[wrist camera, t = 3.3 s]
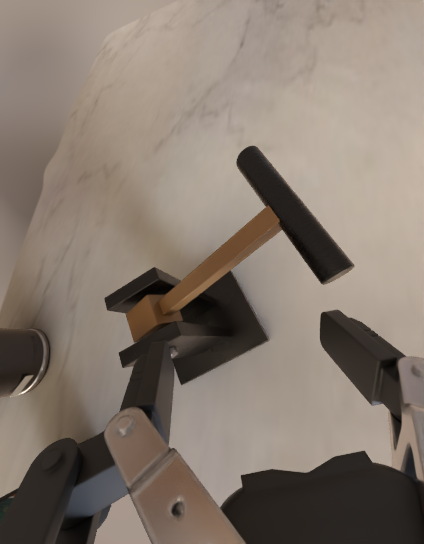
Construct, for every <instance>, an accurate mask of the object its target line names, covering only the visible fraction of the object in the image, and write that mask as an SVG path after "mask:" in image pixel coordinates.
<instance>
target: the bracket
mask: <svg viewBox="0 0 424 544" xmlns="http://www.w3.org/2000/svg"><path fill="white" fill-rule="evenodd" d="M180 282H181V281H180V280H178V279H176V278H175V277H173V276H171V275H169V274H167V273H165V272H163V271H161V270H159V269H157V268H155V267H154V268H152V269H150V270H149V271H147V272H146V273H144V274H142V275H141V276H139V277H138V278H136V279H134V280H133V281H131V282H130V283H128V284H126V285H125V286H123V287H122V288H120V289H118V290H117V291H115V292H114V293H112V294H110V295H109V296H107V297H106V298H105V303H106V307H107V310H108V311H115V312H121V313H128V312H129V311H130V310H131V309H132V308H133V307H134V306H135V305H137V304H138V303H139V302H140V301H141V300H142V299H143V298H144V297H145V296H146V295H166V294H167V293H168V292H169V291H171V290H172V289H173V288H174V287H175V286H176V285H177V284H179V283H180ZM179 311H180V313H181V316H182V318H183V321H182V322H181V321H174V322H172V323H170V324H168V325H167V326H165V327H163V328H161V329H160V330H158V331H156V332H154V333H153V334H151V335H149V336H147V337H146V338H144V339H142V340H140V341H139V342H137V343H135V344H133V345H132V346H130V347H128V348H126V349H125V350H123V351H121V352H119V356H120V360H121V364H122V367H123V368H125V367H131V366H134V364H135V362H136V361H137V360H138V359H139V357H140V356H141V355H144V354H148V353H149V349H150V345H151V343H152V342H157V341H163V340H167V342H168V345H169V349H170V353H171V357H172V361H173V364H174V367H175V369H176V372H177V375H178V378H179V381H180V383H181V385H183V384H185V383H187V382H189V381H191V380H193V379H195V378H197V377H199V376H201V375H203V374H205V373H207V372H209V371H211V370H213V369H215V368H217V367H219V366H221V365H223V364H224V363H226V362H228V361H230V360H232V359H234V358H236V357H238V356H240V355H242V354H244V353H246V352H248V351H250V350H252V349H254V348H256V347H258V346H259V345H261V344H263V343H265V342H267V341H269V338H268V336H267V335H266V333H265V331H264V329H263V327H262V325H261V324H260V322H259V320H258V318H257V316H256V314H255V313H254V311H253V309H252V307H251V305H250V304H249V302H248V300H247V298H246V296H245V294H244V293H243V291H242V289H241V287H240V285H239V284H238V282H237V280H236V278H235V276H234V274H233V273H232V272H231V270H230V271H229V272H227V273H226V274H225V275H223V276H222V277H221V278H220V279H218V280H217V281H216V282H215V283H213V284H212V285H211V286H209V287H208V288H207V289H206V290H204V291H203V292H202V293H200V294H199V295H198V296H197V297H195V298H194V299H193V300H192V301H190V302H189V303H188V304H186V305H185V306H184V307H183V308H181V309H180V310H179Z"/></svg>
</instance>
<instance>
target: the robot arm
mask: <svg viewBox="0 0 424 544" xmlns="http://www.w3.org/2000/svg"><path fill="white" fill-rule="evenodd" d="M320 341H321V344H322V347H323V348H324V350H325V351H326V352H327V353H328V354H329V356H330V357H331V358H332V359H333V360H334V362H335V363H336V364H337V365H338V366H339V368H340V369H341V370H342V371H343V372H344V373H345V375H346V376H347V377H348V378H349V379H350V381H351V382H352V383H353V384H354V385H355V386H356V388H357V389H358V390H359V391H360V392H361V394H362V395H363V396H364V397H365V398H366V399H367V401H368V402H369V403H370V404H371V405H372V406H373V405H378V404H384V405H385V406H386V407H387V408H388V409H389V411H388V419H389V430H390V440H391V451H392V467H389V466H386V465H382V464H378V463H372V461H371V460H370V458H369V457H368V455H367V454H366V452H365V451H361V452H356V453H351V454H346V455H341V456H336V457H333V458H332V459H330V460H328V461H327V462H325V463H323V464H322V465H320V466H319V467H317V468H315V469H314V470H312V471H310V472H308V473H301V472H292V471H283V470H274V469H270V470H265V471H260V472H255V473H250V474H245V475H241V480H242V488H240V489H238V490H237V491H235V492H234V493H233V494H232V495H230V496H229V497H228V498H227V500H226V501H225V502H224V503H223V504H222V506H221V507H220V508H219V506H218V505H217V504H216V502H215V501H214V500H213V498H212V497H211V496H210V494H209V493H208V492H207V490H206V489H205V488H204V486H203V485H202V483H201V482H200V481H199V479H198V478H197V477H196V475H195V474H194V473H193V471H192V470H191V469H190V467H189V466H188V465H187V463H186V462H185V461H184V459H183V458H182V457H181V455H180V454H179V453H178V452H177V450H176V449H174V448H172V449H170V448H169V435H170V423H171V411H172V399H173V387H174V365H173V361H172V357H171V353H170V349H169V345H168V342H167V340H163V341H157V342H152V343H151V345H150V349H149V353H148V354H144V355H141V356H140V357H139V359H138V360H137V361H136V362H135V364H134V367H133V371H132V374H131V377H130V382H129V383H128V386H127V389H126V393H125V396H124V399H123V402H122V405H121V408H120V411H119V413H117V414H116V415H115V416H114V417H113V418H112V419H111V420H110V422H109V423H108V425H107V427H106V429H105V431H103V432H102V433H100V434H99V435H97V436H95V437H93V438H91V439H89V440H87V441H85V442H83V443H81V444H77V443H76V441H75V440H73V439H71V438H65V439H61V440H58V441H56V442H54V443H52V444H51V445H49V446H48V447H47V448H45V449H44V450H43V451H42V452H41V453H40V454H39V455H38V456H37V457H36V459H35V460H34V461H33V463H32V464H31V466H30V468H29V470H28V471H27V473H26V475H25V477H24V479H23V481H22V483H21V485H20V487H19V488H18V490H17V492H16V494H15V496H14V498H13V500H12V502H11V503H10V505H9V507H8V509H7V511H6V513H5V515H4V517H3V519H2V520H1V522H0V544H94V540H95V536H96V532H97V528H98V523H99V519H100V515H101V510H102V509H104V508H105V507H107V506H109V505H110V504H112V503H114V502H115V501H117V500H119V499H120V498H122V497H124V496H125V495H127V494H130V497H131V499H132V501H133V503H134V506H135V508H136V510H137V512H138V515H139V517H140V519H141V521H142V523H143V526H144V528H145V530H146V532H147V534H148V537H149V539H150V541H151V543H152V544H424V359H423V358H419V357H412V356H409V357H406V356H405V355H404V354H402V353H401V352H400V351H399V350H397V349H396V348H395V347H393V346H392V345H391V344H389V343H388V342H387V341H386V340H384V339H383V338H382V337H380V336H378V334H376V333H375V332H374V331H373V330H372V331H371V329H370V328H369V327H367V326H366V325H365V324H363V323H362V322H360V321H357V320H355V319H353V318H348V317H347V316H346V315H344V314H343V313H342V312H341V311H339V310H333V311H327V312H322V313H321V320H320ZM48 360H49V344H48V341H47V338H46V336H45V335H44V334H43V332H41V331H40V330H38V329H7V328H0V398H1V397H6V396H10V397H14V396H18V395H19V394H24V393H27V392H29V391H31V390H32V389H33V388H34V387H35V386H36V385H37V384H38V383H39V382H40V380H41V379H42V377H43V375H44V373H45V371H46V368H47V364H48Z"/></svg>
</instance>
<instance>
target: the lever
mask: <svg viewBox="0 0 424 544" xmlns="http://www.w3.org/2000/svg"><path fill="white" fill-rule="evenodd" d="M236 163H237V167H238V169H239V170H240V172H241V173H242V174H243V176H244V177H245V179H246V180H247V181H248V183H249V184H250V185H251V187H252V188H253V190H254V191H255V192H256V194H257V195H258V197H259V198H260V199H261V201H262V202H263V203H264V205H265V206H266V208H265V209H263V210H262V211H261V212H260V213H259V214H258V215H257V216H255V217H254V218H253V219H252V220H251V221H250V222H249V223H247V224H246V225H245V226H244V227H243V228H242V229H241V230H239V231H238V232H237V233H236V234H235V235H234V236H232V237H231V238H230V239H229V240H228V241H227V242H226V243H224V244H223V245H222V246H221V247H220V248H219V249H218V250H216V251H215V252H214V253H213V254H212V255H211V256H210V257H208V258H207V259H206V260H205V261H204V262H203V263H202V264H200V265H199V266H198V267H197V268H196V269H195V270H194V271H192V272H191V273H190V274H189V275H188V276H187V277H186V278H184V279H183V280H182V281H181V282H180V283H179V284H177V285H176V286H175V287H174V288H173V289H172V290H171V291H169V292H168V293H167V294H166V295H146V296H145V297H144V298H143V299H142V300H141V301H140V302H139V303H138V304H137V305H135V306H134V307H133V308H132V309H131V310H130V311H129V312H128V313H127V314H126V317H127V320H128V323H129V327H130V330H131V334H132V337H133V340H134V342H139V341H140V340H142V339H144V338H146V337H147V336H149V335H151V334H153V333H154V332H156V331H158V330H160V329H161V328H163V327H165V326H167V325H168V324H170V323H172V322H174V321H181V322H182V321H183V318H182V316H181V313H180V311H179V310H180V309H181V308H183V307H184V306H185V305H186V304H188V303H189V302H190V301H192V300H193V299H194V298H195V297H197V296H198V295H199V294H200V293H202V292H203V291H204V290H206V289H207V288H208V287H209V286H211V285H212V284H213V283H215V282H216V281H217V280H218V279H220V278H221V277H222V276H223V275H225V274H226V273H227V272H229V271H230V270H231V269H232V268H234V267H235V266H236V265H237V264H239V263H240V262H241V261H243V260H244V259H245V258H246V257H248V256H249V255H250V254H252V253H253V252H254V251H255V250H257V249H258V248H259V247H260V246H262V245H263V244H264V243H266V242H267V241H268V240H269V239H271V238H272V237H273V236H274V235H276V234H277V233H278V232H280V231H281V230H283V231H284V233H285V234H286V235H287V237H288V238H289V240H290V241H291V242H292V244H293V245H294V246H295V248H296V249H297V251H298V252H299V253H300V255H301V256H302V258H303V259H304V260H305V262H306V263H307V265H308V266H309V267H310V269H311V270H312V271H313V273H314V274H315V276H316V277H317V278H318V280H319V281H320V283H321V284H323V285H324V284H328V283H330V282H332V281H334V280H336V279H338V278H340V277H341V276H343V275H345V274H346V273H348V272H349V271H350V270H352V269H353V267H354V264H353V263H352V262H351V261H350V259H349V258H348V257H347V256H346V255H345V253H344V252H343V251H342V250H341V248H340V247H339V246H338V245H337V244H336V242H335V241H334V240H333V239H332V237H331V236H330V235H329V234H328V233H327V231H326V230H325V229H324V228H323V226H322V225H321V224H320V223H319V222H318V220H317V219H316V218H315V217H314V216H313V214H312V213H311V212H310V211H309V209H308V208H307V207H306V206H305V205H304V203H303V202H302V201H301V200H300V198H299V197H298V196H297V195H296V194H295V192H294V191H293V190H292V189H291V188H290V186H289V185H288V184H287V183H286V181H285V180H284V179H283V178H282V177H281V175H280V174H279V173H278V172H277V170H276V169H275V168H274V167H273V166H272V164H271V163H270V162H269V161H268V159H267V158H266V157H265V156H264V155H263V153H262V152H261V151H260V150H259V149H258V147H256V146H249V147H247V148H245V149H244V150H243V151H242V152H241V153H240V154H239V156H238V158H237V162H236Z"/></svg>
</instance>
